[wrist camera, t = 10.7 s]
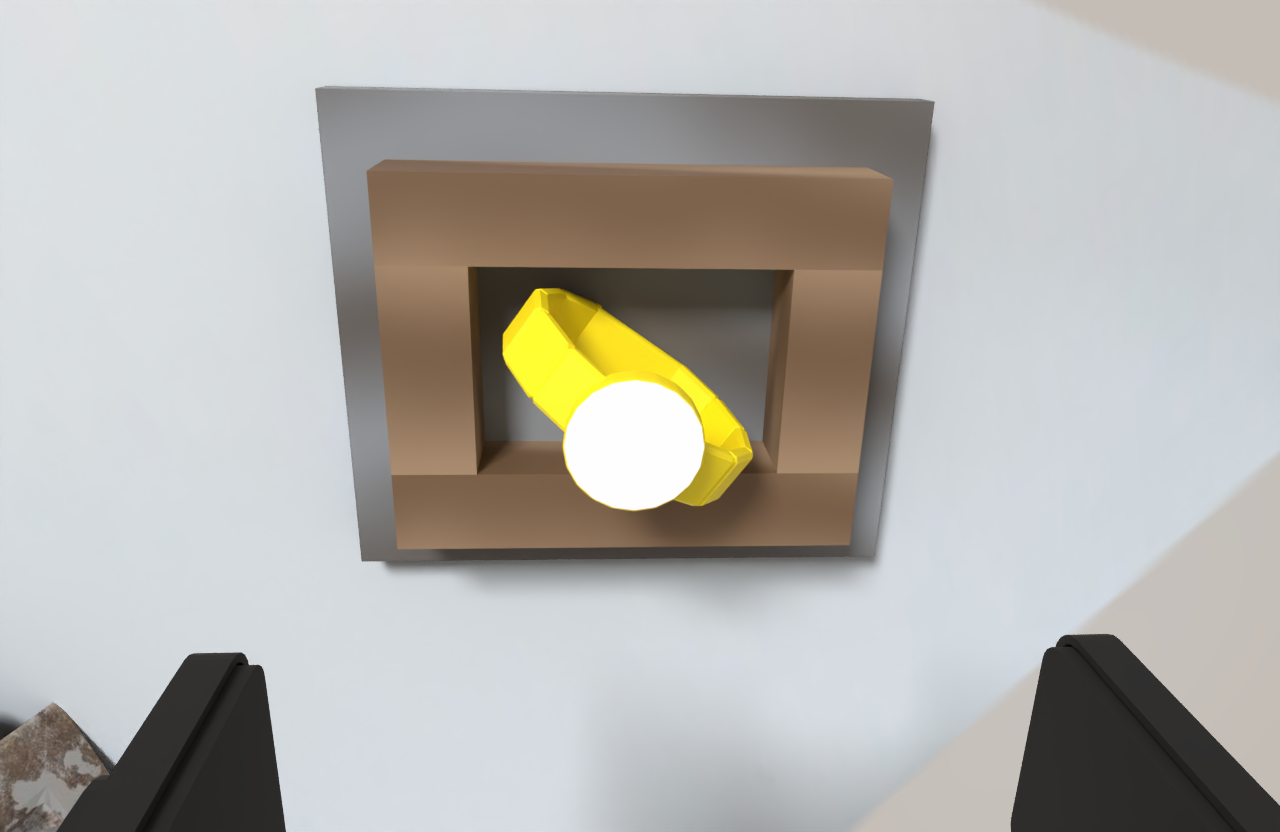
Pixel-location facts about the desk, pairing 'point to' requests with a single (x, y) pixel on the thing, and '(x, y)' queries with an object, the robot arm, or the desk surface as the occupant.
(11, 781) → the caster wheel
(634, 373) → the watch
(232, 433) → the desk surface
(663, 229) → the frame
